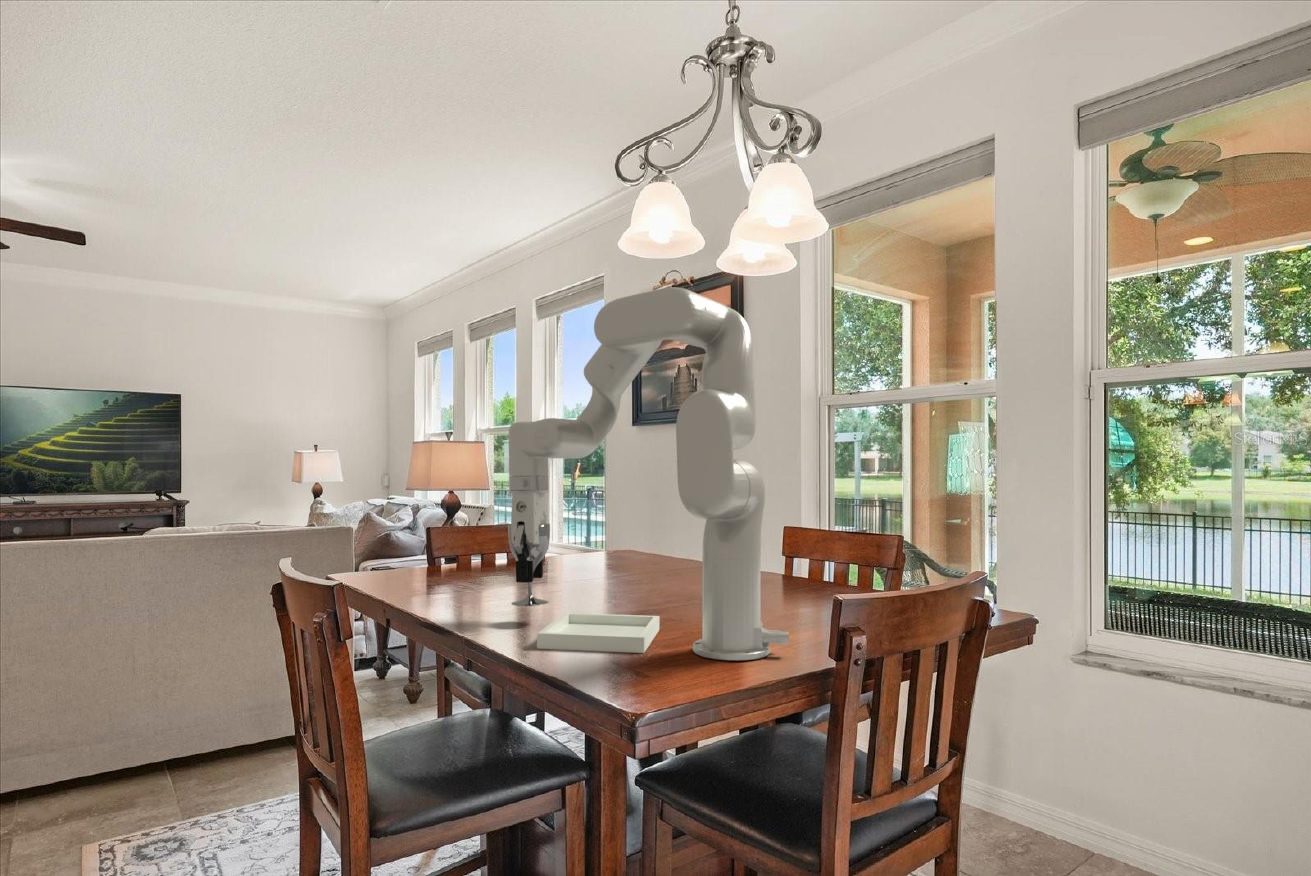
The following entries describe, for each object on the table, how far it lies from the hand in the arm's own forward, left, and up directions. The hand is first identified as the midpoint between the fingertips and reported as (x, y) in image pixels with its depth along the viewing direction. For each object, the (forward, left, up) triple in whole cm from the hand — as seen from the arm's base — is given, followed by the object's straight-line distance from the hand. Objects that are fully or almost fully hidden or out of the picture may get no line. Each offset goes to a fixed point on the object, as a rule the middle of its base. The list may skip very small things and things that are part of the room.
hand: (529, 579), depth 146 cm
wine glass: (0, 0, -5) cm, 5 cm away
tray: (-16, +10, -9) cm, 21 cm away
